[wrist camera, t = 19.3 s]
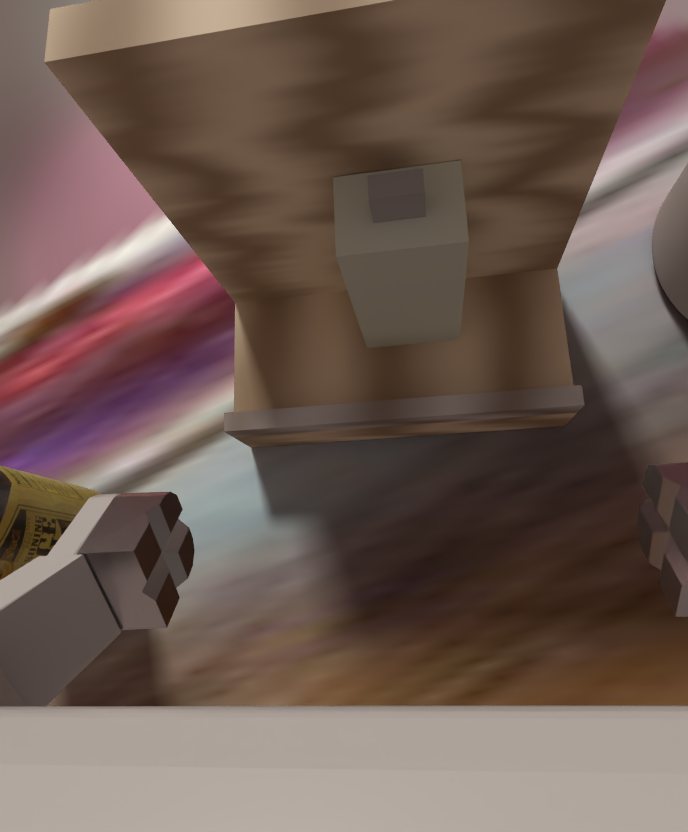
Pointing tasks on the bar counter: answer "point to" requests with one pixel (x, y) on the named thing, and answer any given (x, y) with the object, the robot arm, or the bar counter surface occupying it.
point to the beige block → (403, 251)
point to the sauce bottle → (34, 515)
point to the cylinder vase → (673, 244)
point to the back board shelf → (355, 154)
